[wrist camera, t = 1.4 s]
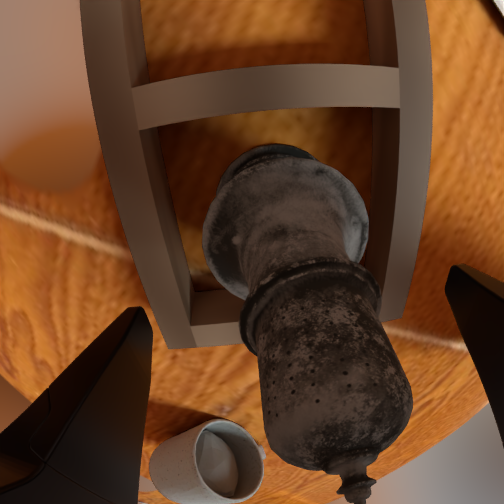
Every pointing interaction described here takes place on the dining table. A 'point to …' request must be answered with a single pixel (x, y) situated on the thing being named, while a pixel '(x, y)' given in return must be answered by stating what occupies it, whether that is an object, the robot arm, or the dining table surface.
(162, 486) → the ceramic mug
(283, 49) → the dining table surface
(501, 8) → the plate
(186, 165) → the dining table surface
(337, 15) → the dining table surface
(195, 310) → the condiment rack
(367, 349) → the salt shaker
